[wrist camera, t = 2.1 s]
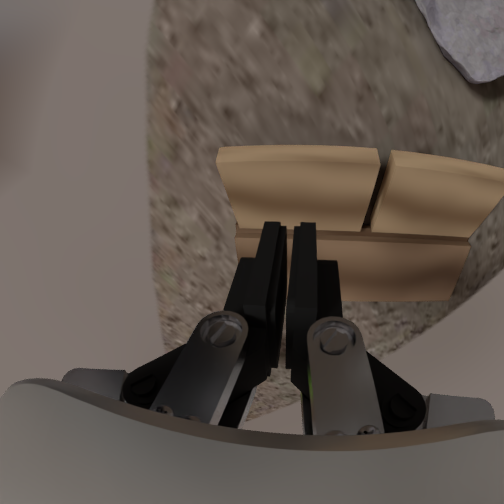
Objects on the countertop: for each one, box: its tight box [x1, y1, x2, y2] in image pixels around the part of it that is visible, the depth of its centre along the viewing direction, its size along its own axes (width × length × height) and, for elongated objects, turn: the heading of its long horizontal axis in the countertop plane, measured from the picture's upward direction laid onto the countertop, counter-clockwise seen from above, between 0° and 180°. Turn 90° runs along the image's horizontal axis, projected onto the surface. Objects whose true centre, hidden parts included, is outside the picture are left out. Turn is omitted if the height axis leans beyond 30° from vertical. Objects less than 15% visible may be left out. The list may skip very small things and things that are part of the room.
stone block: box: [415, 0, 504, 84], centre depth 9 cm, size 12×5×10 cm
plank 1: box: [216, 145, 381, 232], centre depth 20 cm, size 8×10×1 cm
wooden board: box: [235, 222, 471, 302], centre depth 25 cm, size 8×22×1 cm, turn 95°
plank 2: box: [370, 150, 504, 237], centre depth 18 cm, size 8×10×1 cm
